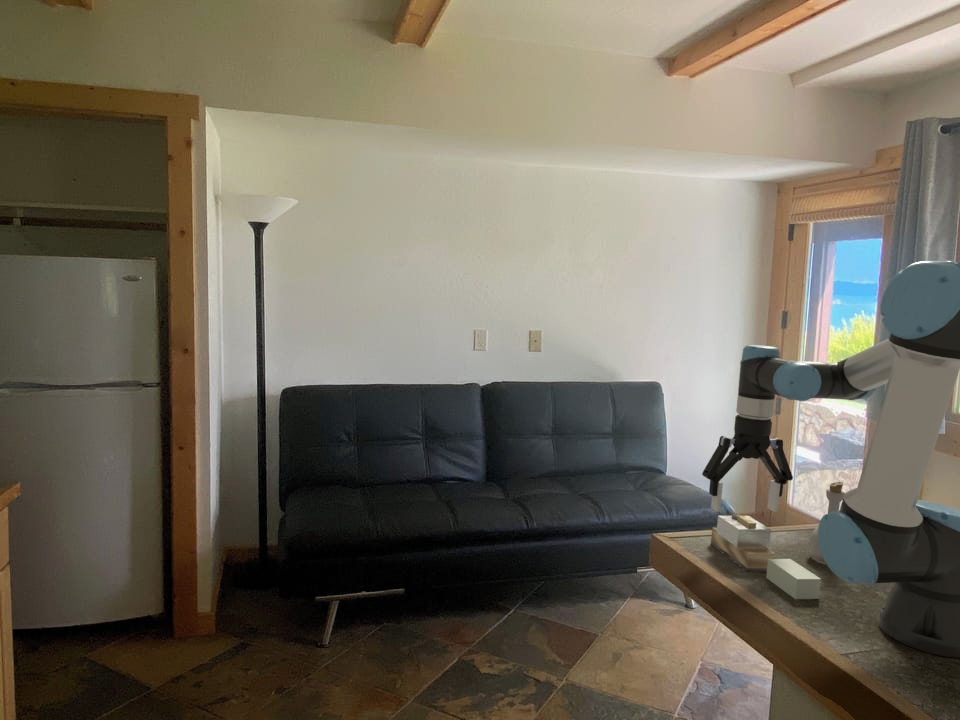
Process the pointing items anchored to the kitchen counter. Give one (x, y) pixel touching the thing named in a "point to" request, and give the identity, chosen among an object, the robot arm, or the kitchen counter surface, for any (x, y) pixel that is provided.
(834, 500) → the potion bottle
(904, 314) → the robot arm
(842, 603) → the kitchen counter surface
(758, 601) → the kitchen counter surface
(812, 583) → the block
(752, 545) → the lever cap
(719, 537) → the plane body
